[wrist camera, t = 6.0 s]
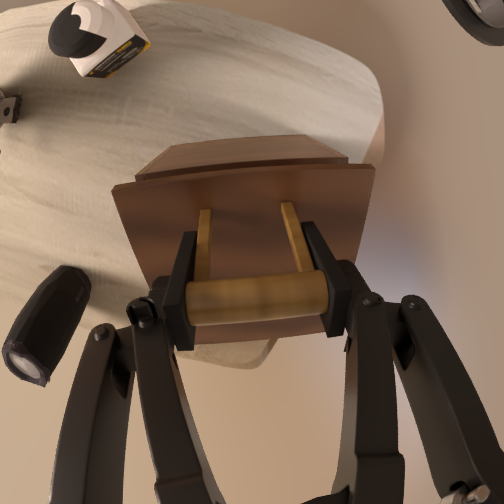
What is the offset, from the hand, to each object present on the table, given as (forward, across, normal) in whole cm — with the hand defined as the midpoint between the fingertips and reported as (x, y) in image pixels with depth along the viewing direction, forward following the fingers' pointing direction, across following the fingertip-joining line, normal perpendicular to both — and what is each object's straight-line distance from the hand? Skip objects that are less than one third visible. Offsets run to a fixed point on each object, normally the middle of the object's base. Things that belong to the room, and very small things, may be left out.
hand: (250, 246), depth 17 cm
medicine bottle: (+21, -14, +19) cm, 31 cm away
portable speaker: (+20, -30, -15) cm, 39 cm away
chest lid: (+4, 0, -5) cm, 6 cm away
